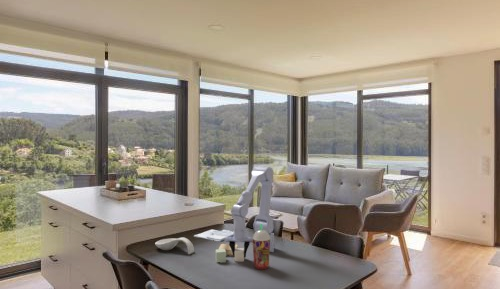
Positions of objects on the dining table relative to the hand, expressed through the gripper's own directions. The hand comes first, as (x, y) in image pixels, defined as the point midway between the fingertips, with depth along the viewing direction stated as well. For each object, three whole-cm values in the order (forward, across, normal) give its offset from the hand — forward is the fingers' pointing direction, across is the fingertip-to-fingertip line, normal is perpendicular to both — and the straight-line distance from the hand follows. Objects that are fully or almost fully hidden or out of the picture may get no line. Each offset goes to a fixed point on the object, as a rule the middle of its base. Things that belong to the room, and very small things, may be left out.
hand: (239, 256), depth 167 cm
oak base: (+1, -7, +10) cm, 12 cm away
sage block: (+2, -9, -2) cm, 9 cm away
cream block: (+1, 0, 0) cm, 1 cm away
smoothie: (+2, +11, -9) cm, 14 cm away
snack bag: (+2, -19, +41) cm, 45 cm away
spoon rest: (+2, -36, +13) cm, 38 cm away
